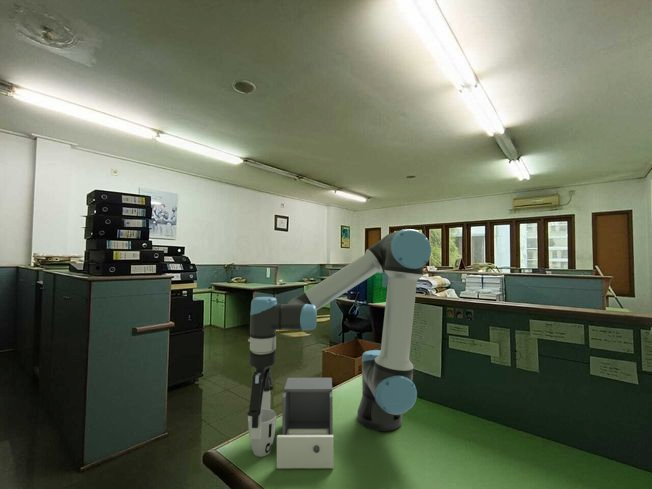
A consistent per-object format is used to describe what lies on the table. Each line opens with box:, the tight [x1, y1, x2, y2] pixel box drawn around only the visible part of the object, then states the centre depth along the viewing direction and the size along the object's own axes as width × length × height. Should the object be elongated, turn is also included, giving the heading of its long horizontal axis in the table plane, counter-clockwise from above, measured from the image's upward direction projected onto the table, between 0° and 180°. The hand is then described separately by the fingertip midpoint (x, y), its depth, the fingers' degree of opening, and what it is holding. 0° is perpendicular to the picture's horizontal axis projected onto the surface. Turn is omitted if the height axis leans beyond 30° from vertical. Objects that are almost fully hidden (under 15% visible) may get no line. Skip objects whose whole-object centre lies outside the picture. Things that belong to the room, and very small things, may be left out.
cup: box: [247, 408, 277, 457], centre depth 89 cm, size 8×8×10 cm
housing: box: [281, 377, 334, 436], centre depth 97 cm, size 14×15×15 cm
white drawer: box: [276, 429, 335, 469], centre depth 88 cm, size 14×15×8 cm
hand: (260, 424), depth 89 cm, fingers open, 13 cm apart
